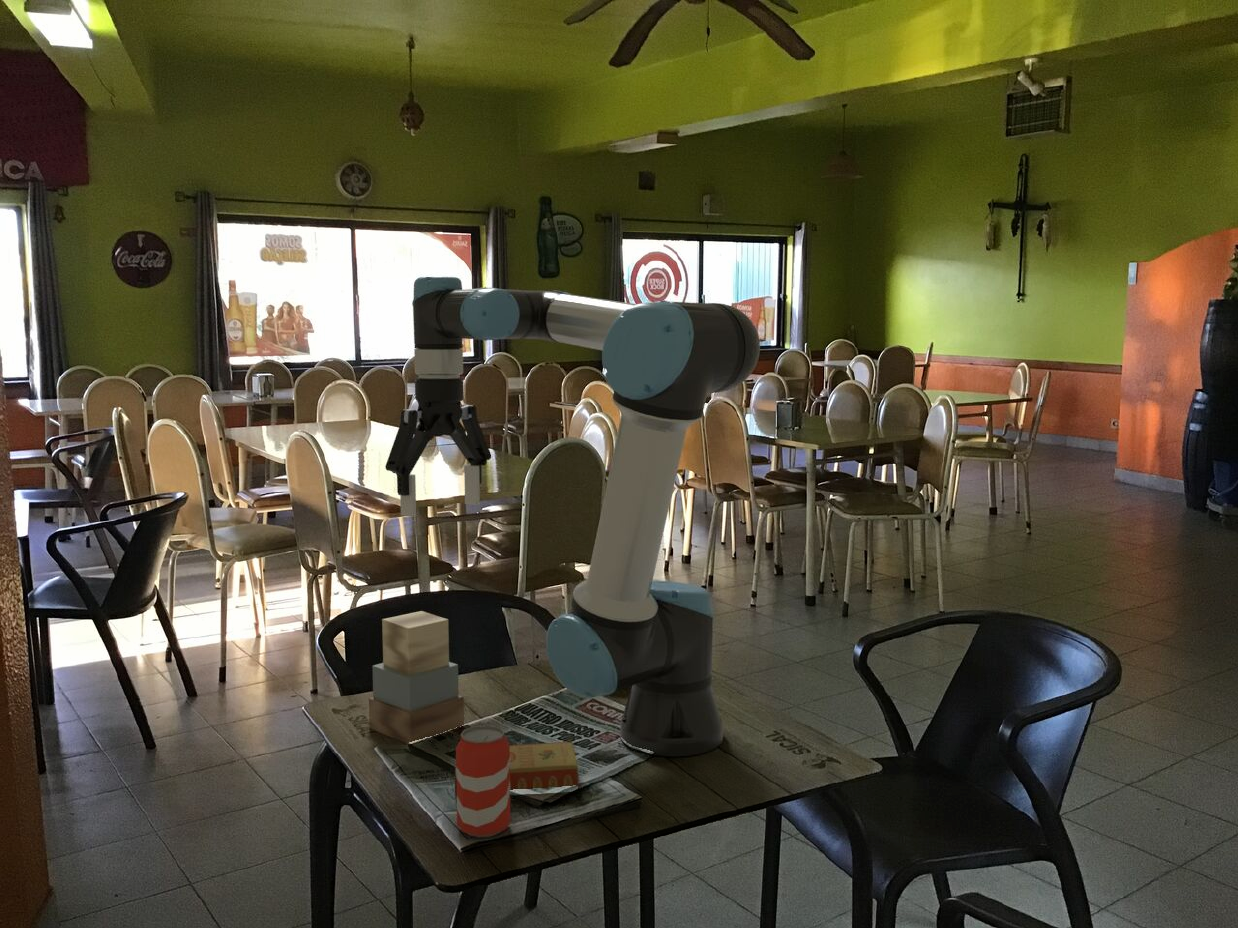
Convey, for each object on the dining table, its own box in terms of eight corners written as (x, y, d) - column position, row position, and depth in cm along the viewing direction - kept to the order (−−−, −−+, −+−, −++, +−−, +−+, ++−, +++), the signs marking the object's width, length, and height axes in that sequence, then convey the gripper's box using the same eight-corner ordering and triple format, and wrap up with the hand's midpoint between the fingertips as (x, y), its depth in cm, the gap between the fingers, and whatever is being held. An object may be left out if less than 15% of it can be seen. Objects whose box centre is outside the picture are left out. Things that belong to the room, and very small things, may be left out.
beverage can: (452, 839, 129) (450, 741, 127) (466, 815, 135) (464, 722, 134) (502, 842, 128) (501, 744, 127) (514, 818, 134) (513, 724, 133)
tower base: (464, 728, 165) (463, 696, 165) (411, 746, 158) (410, 713, 157) (422, 712, 172) (421, 682, 171) (369, 730, 165) (368, 698, 164)
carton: (578, 795, 142) (578, 764, 141) (454, 802, 140) (453, 770, 139) (573, 769, 150) (573, 739, 150) (455, 775, 148) (454, 745, 148)
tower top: (458, 696, 165) (458, 664, 164) (410, 712, 158) (409, 678, 157) (421, 683, 171) (420, 652, 170) (373, 697, 164) (372, 665, 163)
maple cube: (449, 664, 164) (448, 619, 163) (409, 675, 159) (408, 628, 158) (422, 654, 169) (421, 610, 168) (383, 664, 164) (382, 619, 163)
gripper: (479, 373, 183) (480, 498, 186) (359, 378, 164) (363, 518, 166) (511, 374, 179) (512, 502, 181) (392, 380, 159) (395, 523, 162)
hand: (441, 510), depth 174 cm, fingers open, 13 cm apart
